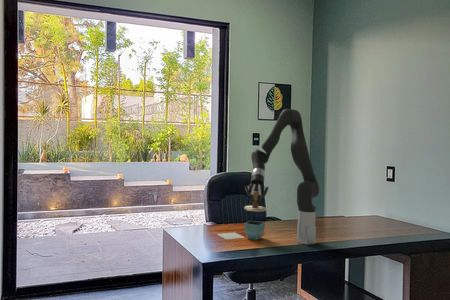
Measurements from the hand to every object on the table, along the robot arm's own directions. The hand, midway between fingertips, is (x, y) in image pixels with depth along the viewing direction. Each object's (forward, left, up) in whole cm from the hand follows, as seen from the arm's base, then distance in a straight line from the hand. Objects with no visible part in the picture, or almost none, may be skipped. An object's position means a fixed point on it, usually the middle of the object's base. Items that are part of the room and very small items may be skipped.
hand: (255, 201), depth 210 cm
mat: (+11, +9, -21) cm, 25 cm away
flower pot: (+2, -1, -21) cm, 21 cm away
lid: (+2, -1, -5) cm, 5 cm away
